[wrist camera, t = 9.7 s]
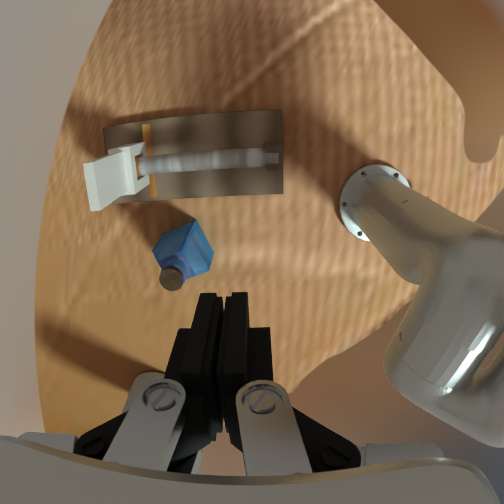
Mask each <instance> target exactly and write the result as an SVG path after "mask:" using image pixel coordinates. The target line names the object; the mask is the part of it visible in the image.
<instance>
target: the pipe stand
mask: <svg viewBox="0 0 504 504" xmlns="http://www.w3.org/2000/svg"><path fill="white" fill-rule="evenodd" d="M103 132H104V142H105V152H106V155H108V150H109V149H112V148H116V147H119V146H123V145H126V144H133V143H140V142H145V143H146V153H147V157H142V156H141V157H135V163H136V172H137V177H139V176H144V175H149V181H150V184H149V185H147V186H146V187H145V188H143V189H142V190H140V191H139V192H138V193H136V194H133V195H123V196H120V197H119V198H117V199H116V200H114V201H113V204H120V203H131V202H142V201H155V200H168V199H182V198H198V197H216V196H236V195H262V194H283V146H282V112H281V110H264V111H239V112H222V113H209V114H197V115H187V116H178V117H169V118H162V119H154V120H147V121H140V122H134V123H128V124H122V125H116V126H111V127H106V128H103Z"/></svg>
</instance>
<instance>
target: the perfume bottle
mask: <svg viewBox="0 0 504 504" xmlns="http://www.w3.org/2000/svg"><path fill="white" fill-rule="evenodd" d="M152 251H153V253H154V256H155V258H156V260H157V262H158V263H159V265H160V267H161V268H162V270H161V274H160V277H159V280H160V283H161V285H162V286H163V287H164V288H165V289H166V290H169V291H176V290H179V289H180V288H181V287H182V285H183V284H184V282H185V280H187V279H189V278H192V277H194V276H197V275H199V274H202V273H204V272H207V271H209V269H210V265H211V262H212V258H213V254H214V252H213V250H212V248H211V246H210V244H209V243H208V241H207V239H206V237H205V235H204V233H203V231H202V229H201V227H200V226H199V224H198V222H197V220H194V221H191V222H189V223H187V224H185V225H183V226H181V227H178V228H176V229H174V230H172V231H170V232H168V233H166V234H163V235H162V237H161V238H160V240H159V241H158V243H157V244H156V245H155V247H154V248H153V250H152Z"/></svg>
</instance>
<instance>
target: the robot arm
mask: <svg viewBox="0 0 504 504" xmlns="http://www.w3.org/2000/svg"><path fill="white" fill-rule="evenodd" d="M362 172H363V175H361V173H362ZM394 173H395V175H394ZM344 202H345V204H344V205H343V203H344ZM339 212H340V216H341V219H342V221H343V223H344V225H345V226H346V228H347V229H348V230H349V231H350V232H351V233H352V234H353V235H354V236H355V237H357V238H359V239H361V240H364V241H369V242H372V244H373V245H374V246H375V247H376V248H377V250H378V251H379V252H380V253H381V255H382V256H383V257H384V258H385V259H386V261H387V262H388V263H389V264H390V266H391V267H392V268H393V269H394V271H395V272H396V273H397V274H398V275H399V276H400V277H401V278H403V279H404V280H406V281H408V282H410V283H413V284H416V285H420V286H419V288H418V290H417V292H416V294H415V296H414V298H413V301H412V303H411V305H410V307H409V308H408V310H407V312H406V314H405V316H404V318H403V320H402V321H401V323H400V325H399V327H398V329H397V330H396V332H395V334H394V336H393V338H392V339H391V341H390V343H389V345H388V347H387V349H386V352H385V355H384V362H383V364H384V371H385V374H386V376H387V378H388V379H389V381H390V383H391V384H392V385H393V386H394V388H395V389H396V390H397V391H399V392H400V393H401V394H402V395H403V396H404V397H406V398H407V399H409V400H410V401H411V402H413V403H414V404H416V405H418V406H419V407H421V408H422V409H424V410H426V411H427V412H429V413H431V414H432V415H434V416H436V417H438V418H439V419H441V420H443V421H444V422H446V423H448V424H449V425H451V426H453V427H455V428H456V429H458V430H460V431H462V432H463V433H465V434H467V435H469V436H470V437H472V438H474V439H476V440H478V441H480V442H482V443H484V444H486V445H489V446H492V447H498V448H504V345H503V347H502V348H501V350H500V351H499V353H498V354H497V355H496V357H495V358H494V360H493V361H492V363H491V364H490V365H489V366H488V367H487V368H485V369H482V368H479V366H480V365H481V364H482V362H483V361H484V359H485V358H486V357H487V355H488V354H489V352H490V351H491V350H492V349H493V347H494V346H495V344H496V343H497V341H498V339H499V338H500V336H501V335H502V333H503V332H504V234H502V233H500V232H498V231H496V230H494V229H491V228H488V227H486V226H483V225H480V224H477V223H475V222H472V221H470V220H467V219H465V218H463V217H460V216H459V215H457V214H455V213H453V212H451V211H449V210H448V209H446V208H444V207H443V206H441V205H439V204H437V203H436V202H434V201H432V200H431V199H429V198H428V197H425V196H424V195H422V194H420V193H418V192H417V191H415V190H413V189H411V188H410V185H409V183H408V181H407V180H406V178H405V177H404V176H403V175H402V174H401V173H400V172H399V171H398V170H396V169H394V168H392V167H390V166H387V165H383V164H371V165H367V166H364V167H362V168H360V169H358V170H357V171H355V172H354V173H353V174H352V175H351V176H350V177H349V178H348V180H347V181H346V182H345V184H344V186H343V188H342V190H341V194H340V197H339ZM359 231H360V232H359ZM358 232H359V233H358ZM223 418H224V422H225V427H226V432H227V433H229V436H230V441H231V444H233V445H234V446H235V447H236V448H237V449H239V450H240V451H241V452H242V453H243V458H244V464H245V471H246V476H213V475H198V474H196V473H197V470H198V467H199V464H200V461H201V458H202V454H203V447H205V446H206V445H208V444H209V443H211V441H216V433H217V432H220V433H221V432H222V430H223ZM0 504H500V502H499V500H498V498H497V496H496V494H495V492H494V490H493V488H492V486H491V485H490V483H489V481H488V480H487V478H486V477H485V475H484V474H483V473H482V472H481V470H480V469H478V468H477V467H476V466H475V465H473V464H471V463H468V462H465V461H461V460H456V459H448V458H444V455H443V452H442V451H441V450H440V449H439V448H438V447H437V446H436V445H433V444H431V443H402V444H401V443H399V444H373V443H372V444H371V443H367V444H366V446H356V445H354V444H353V443H352V442H350V441H349V440H347V439H345V438H343V437H342V436H340V435H338V434H336V433H335V432H333V431H331V430H330V429H328V428H326V427H324V426H323V425H321V424H319V423H318V422H316V421H314V420H313V419H311V418H309V417H308V416H306V415H305V414H303V413H301V412H300V411H298V410H297V409H295V408H293V407H292V406H291V402H290V399H289V396H288V393H287V392H286V390H285V389H284V388H283V387H282V386H281V385H280V384H278V383H276V382H273V368H272V352H271V337H270V327H262V328H250V326H249V308H248V293H247V292H232V296H229V297H226V302H225V309H223V300H222V297H217V294H216V293H200V296H199V300H198V304H197V307H196V311H195V315H194V319H193V322H192V326H191V328H180V329H179V330H178V332H177V336H176V339H175V342H174V345H173V349H172V352H171V355H170V359H169V362H168V365H167V369H166V372H165V375H164V379H158V380H154V381H151V382H149V383H147V384H146V385H145V386H143V387H142V389H141V390H140V391H139V393H138V395H137V396H136V398H135V400H134V402H133V404H132V406H131V407H130V409H129V410H128V411H126V412H125V413H123V414H121V415H119V416H117V417H115V418H113V419H111V420H109V421H108V422H106V423H104V424H102V425H100V426H98V427H96V428H94V429H92V430H90V431H88V432H86V433H85V434H83V435H82V436H80V437H77V436H76V435H75V434H54V433H37V432H27V433H24V434H22V435H20V436H19V437H18V438H16V437H11V436H1V435H0Z"/></svg>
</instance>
